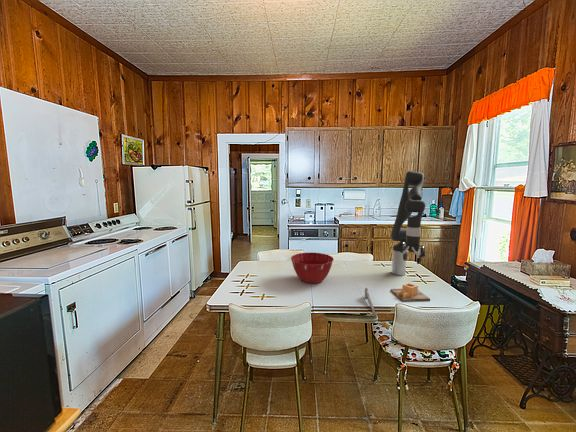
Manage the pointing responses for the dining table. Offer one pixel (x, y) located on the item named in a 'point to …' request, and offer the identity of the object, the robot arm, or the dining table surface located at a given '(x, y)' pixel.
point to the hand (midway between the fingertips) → (411, 262)
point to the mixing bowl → (312, 266)
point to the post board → (417, 297)
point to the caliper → (369, 299)
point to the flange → (408, 290)
